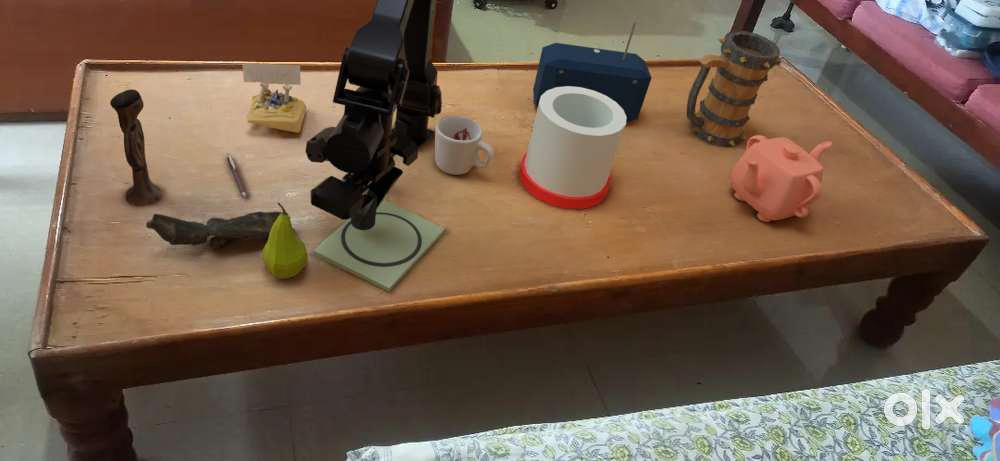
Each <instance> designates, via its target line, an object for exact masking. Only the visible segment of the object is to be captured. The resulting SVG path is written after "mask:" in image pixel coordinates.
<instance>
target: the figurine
mask: <svg viewBox="0 0 1000 461" xmlns="http://www.w3.org/2000/svg"><path fill="white" fill-rule="evenodd" d="M109 105H110V106H111V108H112V109H113V110H115V112H116V115H117V120H118V124H119V129H120V130H121V132H122V134H123V148H124V155H125V160H126V163H127V164H128V165H129V167H130V168H131V170H132V183H133V184H132V186H131V187H130V188H128V190H127V191H126V192H125V195H124V198H125V201H126V203H128V204H129V205H131V206H136V207H137V206H138V207H140V206H141V207H142V206H147V205H151V204H154V203H156V202H158V201H160V199H161V198H162V194H163V192H162V190H161V188H160V187H159V186H158V185H156V184H154V183H153V181H151V179H150V175H149V168H148V163H147V160H146V147H145V146H146V145H145V144H146V142H145V134H144V130H143V125H142V122H141V121H140V119H139V118H138V117H139V115H140V113H141V112H142V111H143V109H144V101H143V98H142V95H141V94H140V92H139V91H138V90H136V89H131V88H130V89H127V90H124V91H121V92H119V93H117V94H116V95H115V96H113V97H112V98H111V99H110V102H109Z"/></svg>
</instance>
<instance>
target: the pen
mask: <svg viewBox="0 0 1000 461" xmlns="http://www.w3.org/2000/svg"><path fill="white" fill-rule="evenodd" d="M226 158H227V161H228V165H229V167H230V170H231V172H232V174H233V176H234V179H235V181H236V184H237V186H238V188H239V191H240V193H241V195H242V196H243V197H244V198H246V197H247V192H246V189H245V187H244V184H243V182H242V179H241V177H240V174H239V170H238V169H237V166H236V164H235V161H234V159H233V157H232V155H231V154H230V153H227V154H226Z"/></svg>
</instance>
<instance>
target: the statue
mask: <svg viewBox="0 0 1000 461" xmlns="http://www.w3.org/2000/svg"><path fill="white" fill-rule="evenodd" d="M281 213H283V211H265V212H264V211H253V212H249V213H247V214H245V215H240V216H237V217H230V219H227V218H223V217H211V218H209V219H207V221H206V224H205V223H202V222H197V221H194V220H193V221H192V220H184V219H181V218H177V217H172V216H168V215H165V214H159V213H154V214H153V215H152V218H151V219H150V220H148V221H146V223H145V227H146V228H147V229H149V230H154V231H155V233H157V234H158V236H159V237H160V238H161V239H162V240H163V241H165V242H167V243H168V244H170V245H171V246H186V245H187V246H189V245H190V246H193V247H196V246H199V245H204V244H206V243H207V241H208V237H211V238H209V246H211V247H212V248H218V249H220V248H222V247H223V245H224V244H225V243H226V242H228V241H229V240H231V239H232V238H240V239H257V238H258V239H259V238H261V239H262V238H269V234H270V231H271V228H272V226H273V224H274V222H275V221H276V220H277V218H278V216H279V215H280V214H281ZM286 213H287V214H288V216H289V213H288V212H286ZM289 218H290V219H291V216H289ZM292 228H293V230H294V232H295V233H296V229H295V228H294V227H292Z"/></svg>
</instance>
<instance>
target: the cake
mask: <svg viewBox="0 0 1000 461" xmlns="http://www.w3.org/2000/svg"><path fill="white" fill-rule="evenodd" d="M242 73H243V74H242V77H243V83H260V85H259V86H260V87H261V88H260V91H259V92H258V94H256V95H253V96H251V103H250V111H249V113H247V115H246V121H247V123H250V124H253V125H258V126H263V127H268V128H272V129H276V130H281V131H285V132H290V133H297V134H298V133H300V132H301V129H302V126H303V122H304V119H305V115H306V111H307V105H306V103H305V102H304V100H301V99H300V98H299V99H298V97H295V96H292V95H290V91H291V90H292V89H293V86H296V85H297V86H298V85H301V64H290V65H288V64H274V63H271V64H259V63H258V64H253V63H242ZM274 84H275V85H282V89H283V90H284V93H283V92H281V91H280V92H279V89H276V90H275V91H272V90H271V89H269V85H274ZM168 119H171V117H168Z"/></svg>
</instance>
